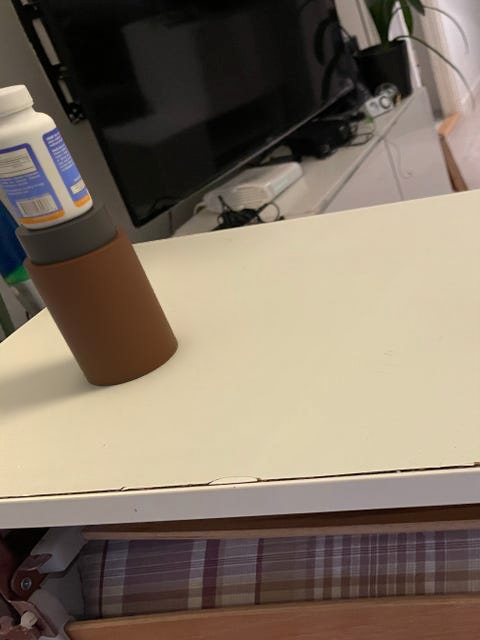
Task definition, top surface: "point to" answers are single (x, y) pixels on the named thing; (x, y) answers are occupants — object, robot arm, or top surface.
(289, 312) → the top surface
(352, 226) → the top surface
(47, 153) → the pill bottle
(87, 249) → the brown bottle
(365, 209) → the top surface
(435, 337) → the top surface
